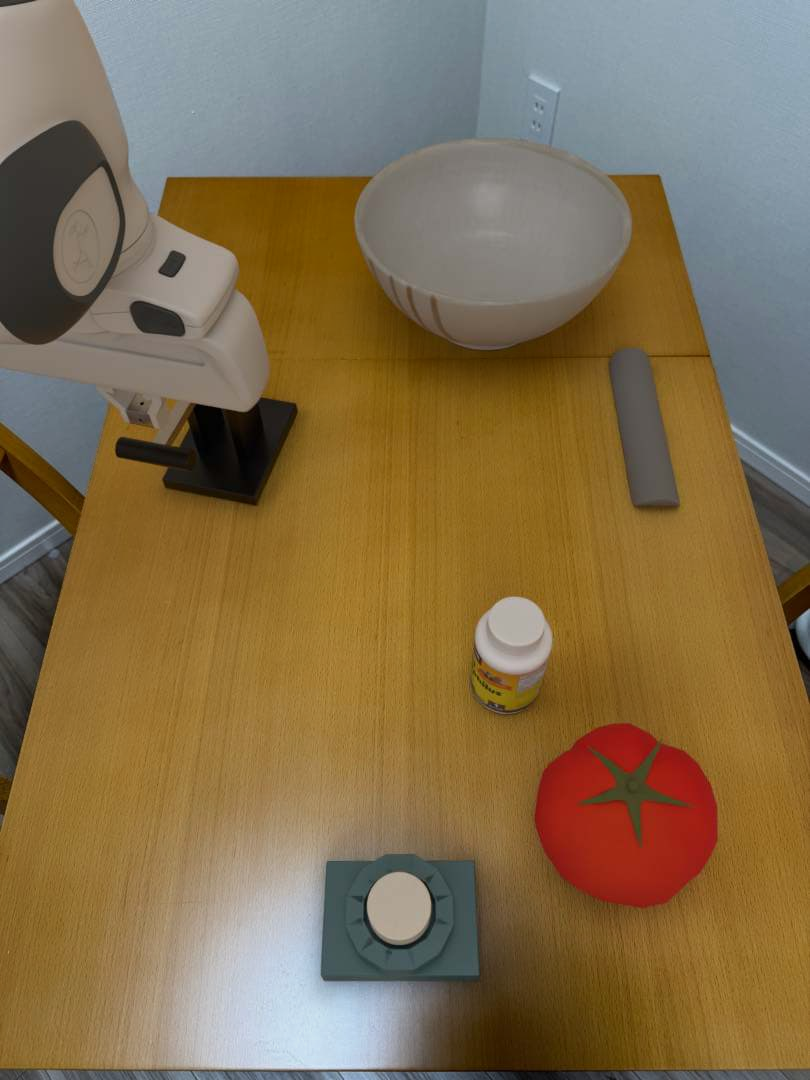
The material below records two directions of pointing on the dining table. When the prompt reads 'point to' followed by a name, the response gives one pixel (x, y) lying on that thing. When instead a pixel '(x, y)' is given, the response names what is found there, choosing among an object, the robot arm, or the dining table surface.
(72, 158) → the robot arm
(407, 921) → the beige push button
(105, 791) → the dining table surface
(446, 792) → the dining table surface
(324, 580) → the dining table surface
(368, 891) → the push button box
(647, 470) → the gray half cylinder
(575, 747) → the tomato
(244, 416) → the lever stand
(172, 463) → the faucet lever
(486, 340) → the decorative bowl
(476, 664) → the supplement bottle
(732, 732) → the dining table surface
